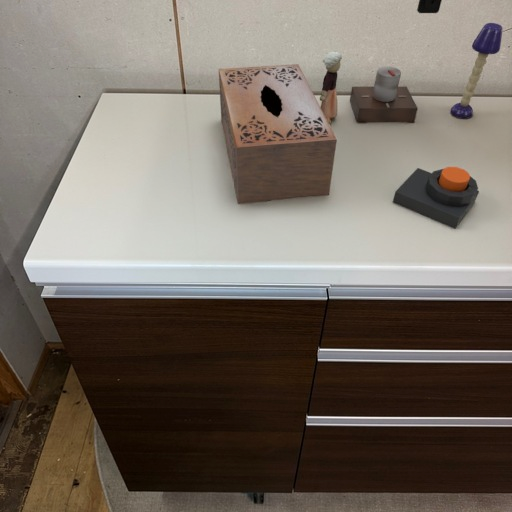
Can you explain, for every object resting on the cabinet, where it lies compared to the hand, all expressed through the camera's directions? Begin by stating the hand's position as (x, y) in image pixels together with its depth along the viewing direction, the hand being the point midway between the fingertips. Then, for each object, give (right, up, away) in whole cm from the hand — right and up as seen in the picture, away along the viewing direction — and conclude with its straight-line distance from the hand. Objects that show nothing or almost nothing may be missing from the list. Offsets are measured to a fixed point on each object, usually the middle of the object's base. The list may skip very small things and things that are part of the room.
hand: (418, 2), depth 75 cm
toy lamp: (+15, -13, +18) cm, 26 cm away
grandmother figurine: (-12, -14, +16) cm, 25 cm away
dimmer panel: (-1, -12, +18) cm, 22 cm away
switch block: (+2, -32, -2) cm, 32 cm away
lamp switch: (+3, -30, -5) cm, 30 cm away
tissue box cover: (-23, -23, +7) cm, 34 cm away
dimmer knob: (-1, -10, +16) cm, 19 cm away
